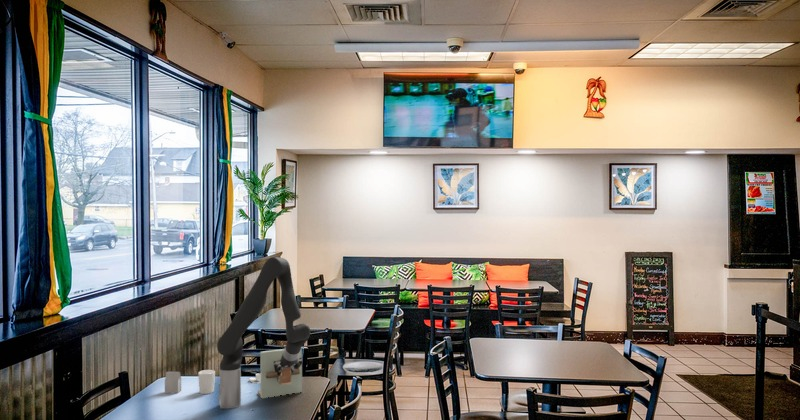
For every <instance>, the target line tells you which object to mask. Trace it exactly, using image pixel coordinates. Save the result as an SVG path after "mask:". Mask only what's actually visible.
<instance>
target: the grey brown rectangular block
mask: <svg viewBox="0 0 800 420" xmlns="http://www.w3.org/2000/svg"><path fill="white" fill-rule="evenodd" d="M165 372H166V373H165V378H164V394H179V393H181V392H182V375H181V372H180V371H165Z"/></svg>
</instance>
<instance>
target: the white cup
mask: <svg viewBox="0 0 800 420" xmlns="http://www.w3.org/2000/svg"><path fill="white" fill-rule="evenodd" d="M215 379H216V371H215V370H214V369H203V370H200V371H198V387H199V393H200V394H202V395H203V394H204V395H208V394H211V393H213V392H215Z"/></svg>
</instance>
